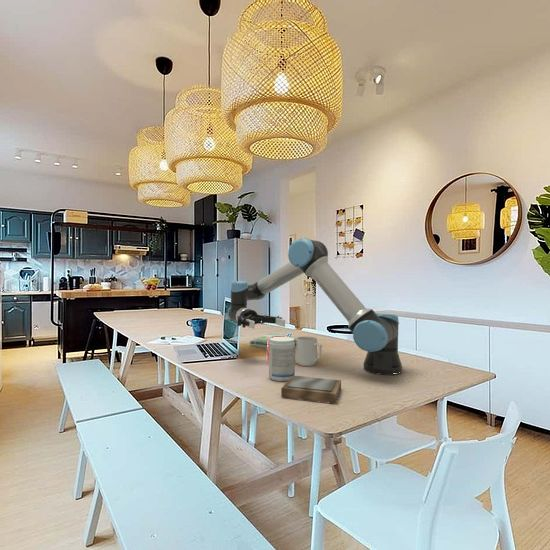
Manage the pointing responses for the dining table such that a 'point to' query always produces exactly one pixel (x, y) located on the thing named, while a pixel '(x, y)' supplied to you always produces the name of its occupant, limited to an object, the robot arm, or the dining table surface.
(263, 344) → the towel
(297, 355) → the mug
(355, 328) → the robot arm
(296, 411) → the dining table surface
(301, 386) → the dock
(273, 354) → the supplement tub
